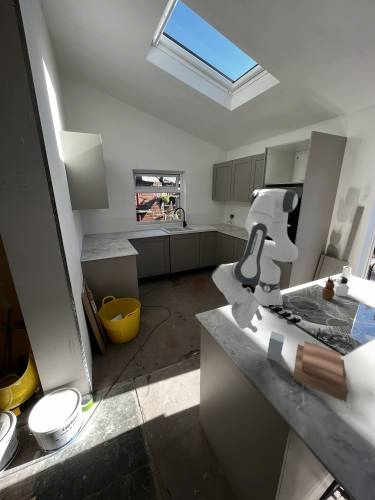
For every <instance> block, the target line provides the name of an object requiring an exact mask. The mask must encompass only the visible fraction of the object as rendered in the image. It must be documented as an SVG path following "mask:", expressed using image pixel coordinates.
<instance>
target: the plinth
mask: <svg viewBox="0 0 375 500" xmlns="http://www.w3.org/2000/svg"><path fill="white" fill-rule="evenodd" d="M293 368H294V369H293V376H292V380H295V381H296V382H298V383H301V384H303V385H306V386H308V387H310V388H312V389H315V390H316V391H319V392H322V393H325V394H327V395H329V396H331V397H334V398H335V399H338V400H339V401H343V402H347V398H348V396H349V389H348V388H349V387H348V381H347V374H346V367H345V360H344V359H342V356H341V352H338V351H336V350H333V349H329V348H327V347H324V346H321V345H318V344H315V343H313V342H309V341H307V340H305V341H304V343H303V345H302V344H299V343H297V348H296V353H295V361H294V367H293Z"/></svg>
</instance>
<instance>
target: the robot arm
mask: <svg viewBox="0 0 375 500" xmlns="http://www.w3.org/2000/svg"><path fill="white" fill-rule="evenodd" d="M298 202H299V196H298V193H297V192H296V191H295V190H292V189H289V188H288V189H283V188H265V189H262V188H258V189H255V190H254V191H253V192H252V193H251V194H250V198H249V205H250V209H249V212H248V215H247V218H246V223H245V229H246V231H247V233H248V239H247V244H246V247H245V250H244V253H243V256H241V257H242V258H241V259H240V260H239V261H236V262H233V263H232V262H231V263H225V264H224V263H222V264H219V265H218V267H216V268H215V270H214V271H213V272H212V274H211V278H212V281H213V282H214V284H215V285H216V287H217V288H218V290H219V292H221V293H222V294H223V295H224V297H225V299H226V301H227V302H228V303H229V305H230V306H231V308H230V309H231V310H230V311H231V315H232V317H233V319H234V322H235V323H236V324H237V326H238V327H239V328H240V329H242V330H244V329H246V328H247V329H249V330H251V331H252V332H253V333H255V334H256V333H257V332H258V329H259V328H258V327H257V326H256V325H253V323H252V321H253V318H254V316H255V315H256V318H257V320H258V321H263V318H264V316H262V313H261V311H260V309H259V306H261V305H262V306H265V307H269V305H281V306H283V303H284V302H283V295H282V293H281V290H280V286H281V283H280V279H281V271H282V270H281V269H280V267H279V266H278V265H277V264H276V263H274V261H279V262H283V263H293V262H294V261H296V260H297V259H298V256H299V249H298V247H297V246H296V245H295V244H294V243H293V242H292V240H290V237H289V236H288V219H289V213H291V212H292V211H294V210H295V209H296V208H297V205H298ZM267 237H269V238H271V239H272V240H268V239H267ZM273 260H274V261H273ZM256 282H258V284H257V285H256V286H255V289H254V293H253V292H252V290H251V288H250V287H246V288H244V287H243V286H242V285H252V284H255V283H256Z"/></svg>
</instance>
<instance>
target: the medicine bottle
mask: <svg viewBox="0 0 375 500" xmlns="http://www.w3.org/2000/svg"><path fill="white" fill-rule="evenodd" d="M335 279H336V280H335V281H333V282H334V288H333V290H334V292H335V294H334V296H337V297H347V296H348V294H349V290H350V286H348V285H347V284H348V281H349V279H348V278H347V277H345V276H342V275H341V276H336V278H335Z"/></svg>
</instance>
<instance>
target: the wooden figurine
mask: <svg viewBox="0 0 375 500" xmlns="http://www.w3.org/2000/svg"><path fill="white" fill-rule="evenodd" d="M332 278H333V277H330V276H328V278H327V282H326V283H325V286H324V287H323V289H321V290H322V291H321V294H322V297H323V298H324V299H325V300H327V301H328V300H331V301H332V299H333V298H334V297H335V295H334V294H335V292H334V290H333V288H334V282H335V281H333V279H332Z"/></svg>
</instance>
